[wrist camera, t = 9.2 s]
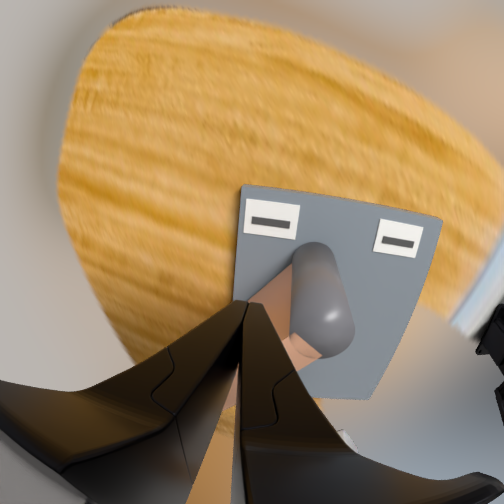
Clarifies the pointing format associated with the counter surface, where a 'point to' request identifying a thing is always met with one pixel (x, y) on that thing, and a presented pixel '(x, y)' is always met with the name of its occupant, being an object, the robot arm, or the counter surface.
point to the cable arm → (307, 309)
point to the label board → (341, 272)
